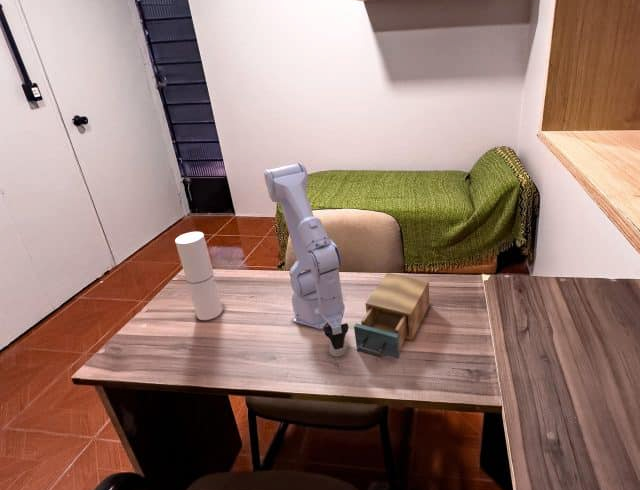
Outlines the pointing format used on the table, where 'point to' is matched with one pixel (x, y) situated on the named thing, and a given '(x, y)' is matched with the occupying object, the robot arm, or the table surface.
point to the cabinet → (402, 298)
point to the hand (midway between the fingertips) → (336, 336)
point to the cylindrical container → (199, 274)
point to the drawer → (381, 333)
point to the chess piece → (337, 350)
